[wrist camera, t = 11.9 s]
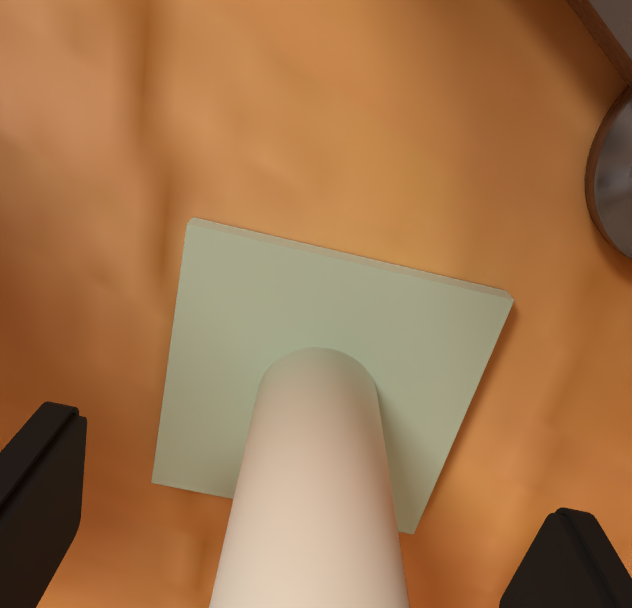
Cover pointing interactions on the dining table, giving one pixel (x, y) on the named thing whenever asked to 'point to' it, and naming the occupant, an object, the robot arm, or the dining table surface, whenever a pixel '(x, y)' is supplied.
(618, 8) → the upright post stand
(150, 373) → the dining table surface
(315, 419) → the dowel
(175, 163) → the dining table surface
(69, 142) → the dining table surface
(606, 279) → the dining table surface
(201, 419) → the pad
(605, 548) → the robot arm
